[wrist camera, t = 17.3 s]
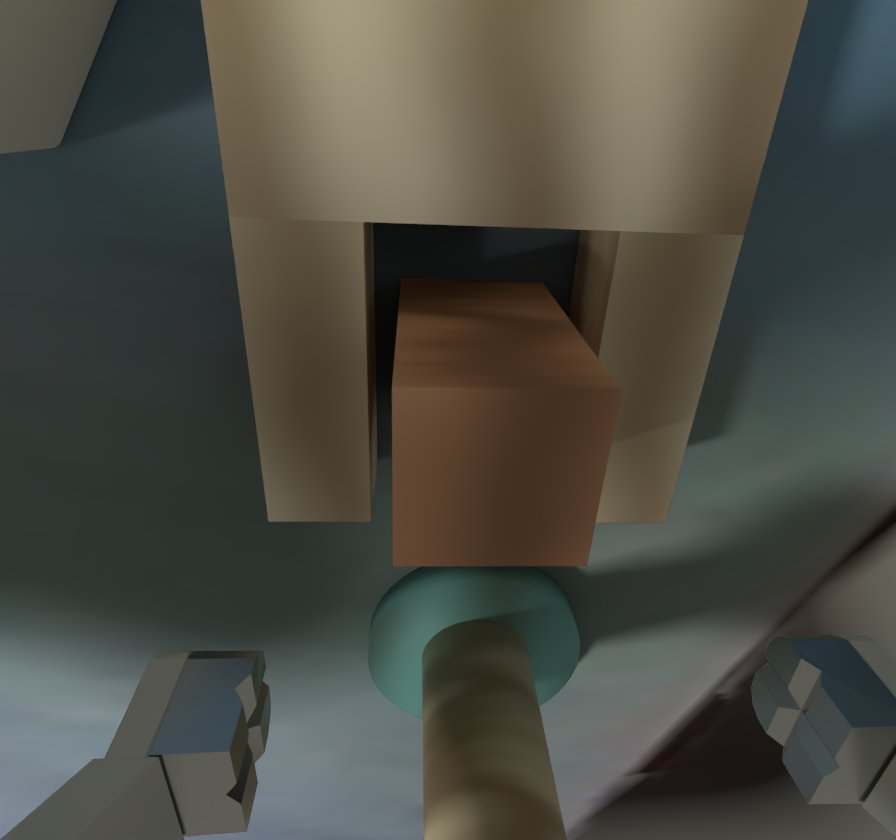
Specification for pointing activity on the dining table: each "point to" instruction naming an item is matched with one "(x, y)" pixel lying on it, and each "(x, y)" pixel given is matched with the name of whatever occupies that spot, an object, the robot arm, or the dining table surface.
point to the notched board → (487, 198)
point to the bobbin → (479, 692)
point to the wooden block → (495, 427)
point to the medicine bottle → (45, 66)
